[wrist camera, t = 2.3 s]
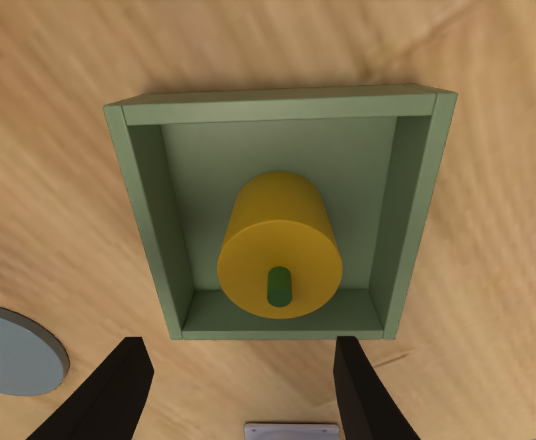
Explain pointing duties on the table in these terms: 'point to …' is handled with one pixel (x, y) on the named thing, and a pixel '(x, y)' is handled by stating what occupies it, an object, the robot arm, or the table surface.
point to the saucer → (29, 357)
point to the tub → (288, 160)
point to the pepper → (279, 248)
